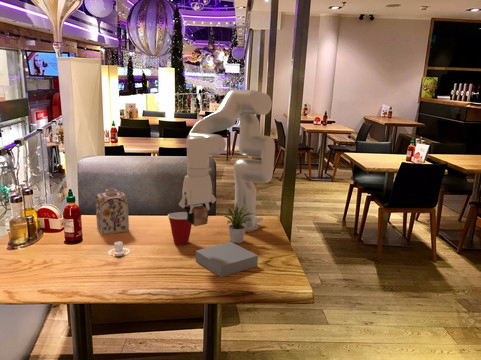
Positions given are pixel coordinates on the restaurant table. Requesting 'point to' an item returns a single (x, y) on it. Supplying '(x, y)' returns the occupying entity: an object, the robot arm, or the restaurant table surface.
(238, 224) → the house plant
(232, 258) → the grey square slab
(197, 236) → the restaurant table surface
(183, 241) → the plastic cup
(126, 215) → the decorative jar
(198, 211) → the walnut block
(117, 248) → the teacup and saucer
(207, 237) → the restaurant table surface
